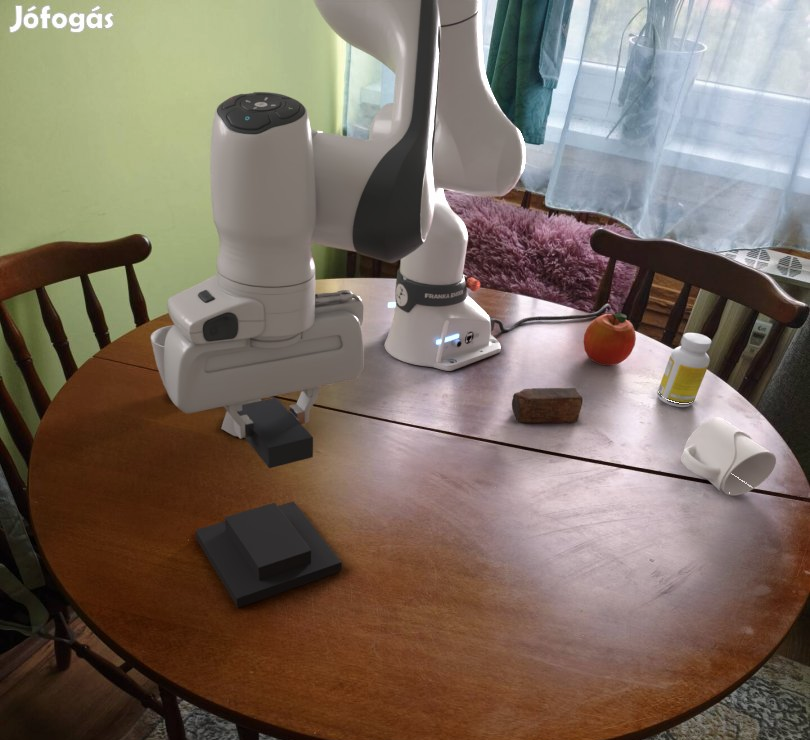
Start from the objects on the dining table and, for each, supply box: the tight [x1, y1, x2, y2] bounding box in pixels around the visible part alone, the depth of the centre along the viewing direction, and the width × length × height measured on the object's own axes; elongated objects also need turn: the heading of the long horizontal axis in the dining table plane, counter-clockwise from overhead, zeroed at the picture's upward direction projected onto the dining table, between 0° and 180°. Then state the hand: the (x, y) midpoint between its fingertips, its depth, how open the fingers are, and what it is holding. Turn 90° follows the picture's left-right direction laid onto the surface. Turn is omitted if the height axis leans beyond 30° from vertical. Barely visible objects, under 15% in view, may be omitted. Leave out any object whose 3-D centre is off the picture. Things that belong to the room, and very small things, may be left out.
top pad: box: [237, 397, 314, 469], centre depth 74 cm, size 5×9×2 cm, turn 33°
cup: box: [150, 324, 175, 391], centre depth 106 cm, size 8×8×10 cm
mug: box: [680, 417, 777, 497], centre depth 102 cm, size 12×9×8 cm
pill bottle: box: [657, 332, 712, 408], centre depth 120 cm, size 6×6×12 cm
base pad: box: [194, 501, 343, 609], centre depth 83 cm, size 13×13×2 cm
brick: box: [511, 387, 584, 424], centre depth 113 cm, size 11×4×5 cm, turn 100°
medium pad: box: [224, 502, 311, 580], centre depth 81 cm, size 6×10×2 cm, turn 33°
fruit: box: [582, 311, 637, 366], centre depth 131 cm, size 10×10×10 cm
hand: (272, 428), depth 74 cm, fingers closed on top pad, 5 cm apart
